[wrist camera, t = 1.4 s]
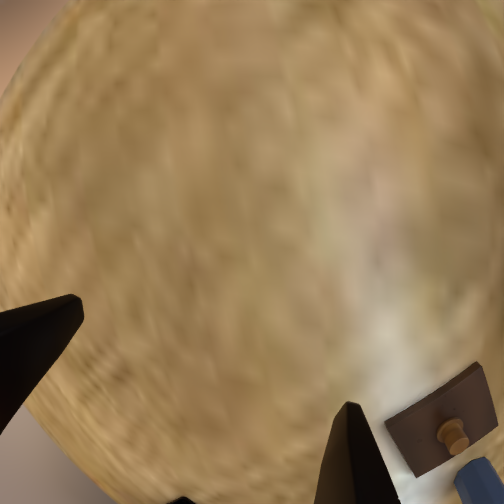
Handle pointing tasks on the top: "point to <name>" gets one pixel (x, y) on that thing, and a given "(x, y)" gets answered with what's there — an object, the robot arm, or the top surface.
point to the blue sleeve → (479, 483)
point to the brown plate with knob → (445, 421)
